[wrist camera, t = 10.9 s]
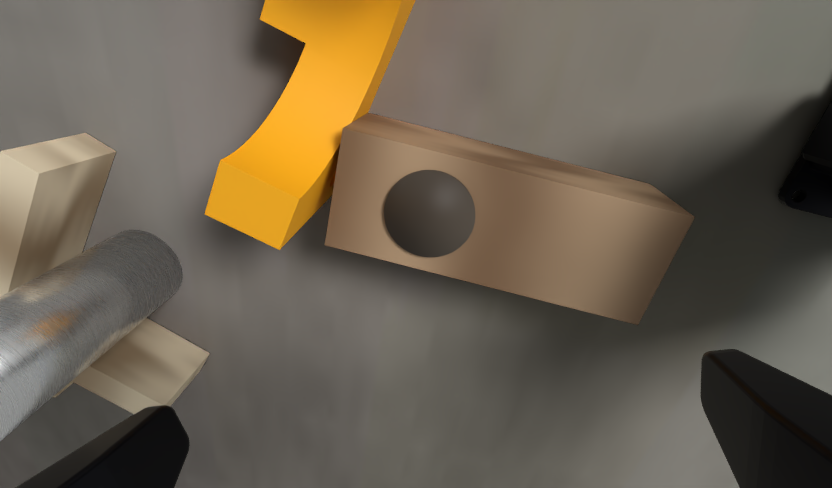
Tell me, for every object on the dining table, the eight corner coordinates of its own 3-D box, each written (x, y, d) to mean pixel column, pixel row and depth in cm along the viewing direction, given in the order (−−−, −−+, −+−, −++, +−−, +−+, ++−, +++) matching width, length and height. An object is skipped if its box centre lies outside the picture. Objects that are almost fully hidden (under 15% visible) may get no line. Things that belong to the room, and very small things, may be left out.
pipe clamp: (346, -170, 15) (267, -311, 9) (460, -105, 15) (454, -201, 10) (246, 147, 20) (152, 189, 14) (334, 191, 20) (279, 249, 14)
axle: (192, 256, 22) (-73, 459, 11) (168, 313, 24) (-84, 538, 13) (117, 215, 22) (-237, 385, 11) (98, 275, 23) (-229, 477, 12)
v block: (105, 128, 20) (23, 145, 16) (217, 368, 25) (173, 423, 21) (-66, 168, 22) (-173, 191, 18) (70, 385, 27) (7, 437, 23)
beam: (649, 183, 18) (696, 218, 15) (607, 275, 20) (639, 327, 16) (367, 112, 18) (341, 128, 15) (350, 210, 20) (323, 246, 16)
